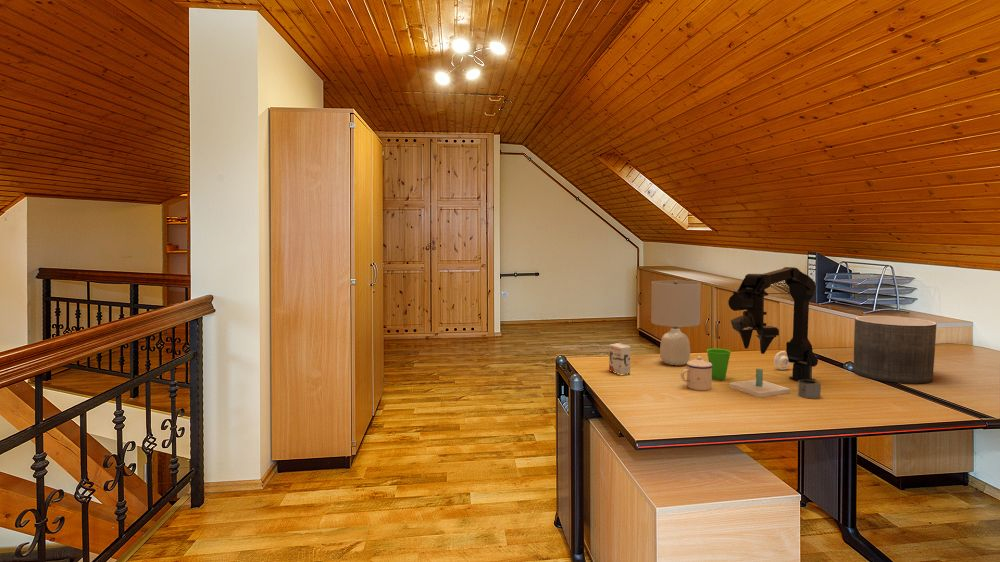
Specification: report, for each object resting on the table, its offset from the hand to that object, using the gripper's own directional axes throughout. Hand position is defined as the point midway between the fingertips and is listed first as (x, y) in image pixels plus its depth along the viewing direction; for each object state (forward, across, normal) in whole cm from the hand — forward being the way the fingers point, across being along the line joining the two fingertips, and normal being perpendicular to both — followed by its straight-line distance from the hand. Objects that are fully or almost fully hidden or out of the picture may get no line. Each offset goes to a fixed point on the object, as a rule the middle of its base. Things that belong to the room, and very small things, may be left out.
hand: (754, 351), depth 188 cm
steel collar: (+14, +12, +13) cm, 22 cm away
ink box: (+14, -31, -39) cm, 52 cm away
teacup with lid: (+14, -5, -20) cm, 25 cm away
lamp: (+14, -41, -10) cm, 44 cm away
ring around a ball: (+15, -23, +29) cm, 39 cm away
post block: (+14, +2, +1) cm, 14 cm away
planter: (+15, -5, +64) cm, 66 cm away
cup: (+14, -15, -5) cm, 21 cm away
